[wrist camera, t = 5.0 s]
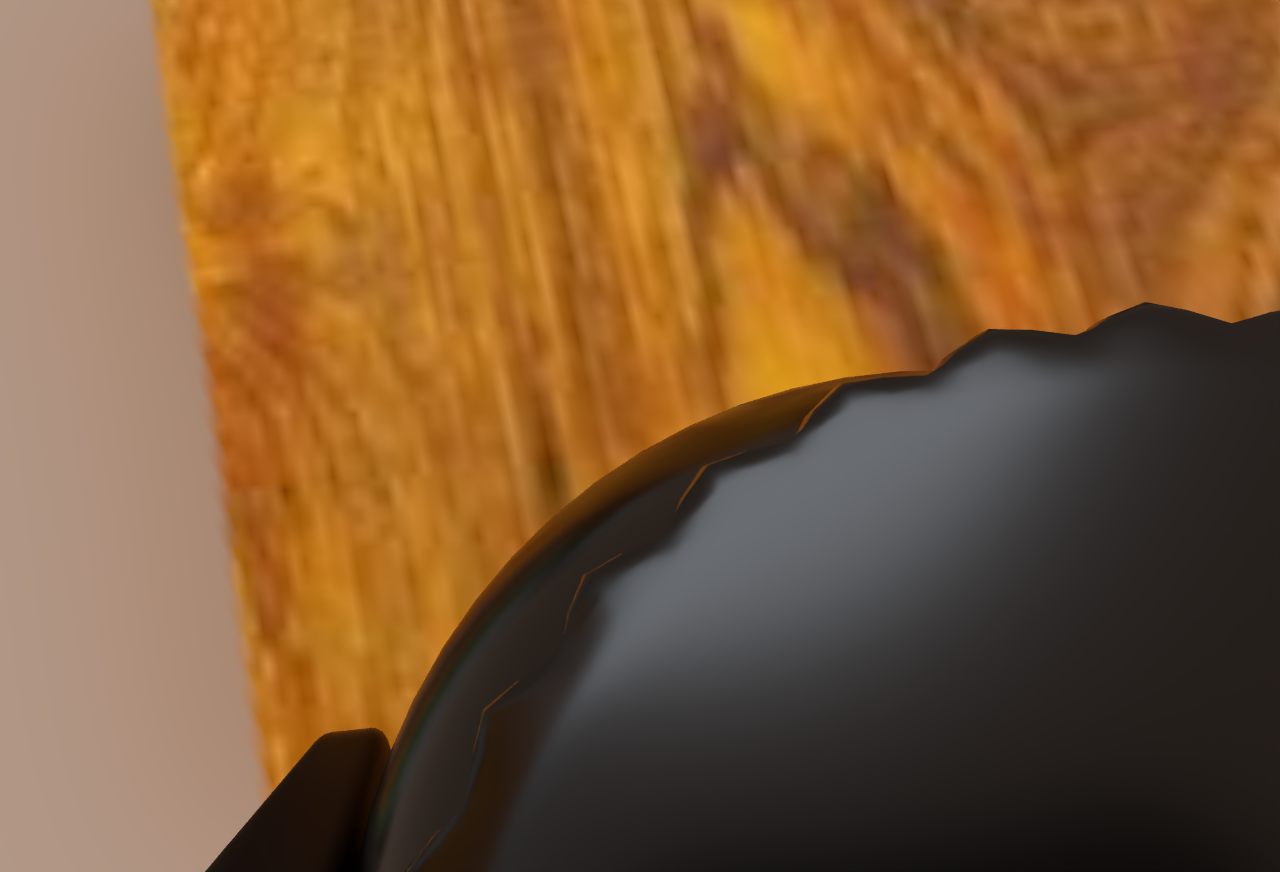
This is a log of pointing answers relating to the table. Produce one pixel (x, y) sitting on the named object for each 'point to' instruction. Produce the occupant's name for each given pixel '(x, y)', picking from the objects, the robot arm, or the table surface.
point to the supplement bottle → (889, 632)
